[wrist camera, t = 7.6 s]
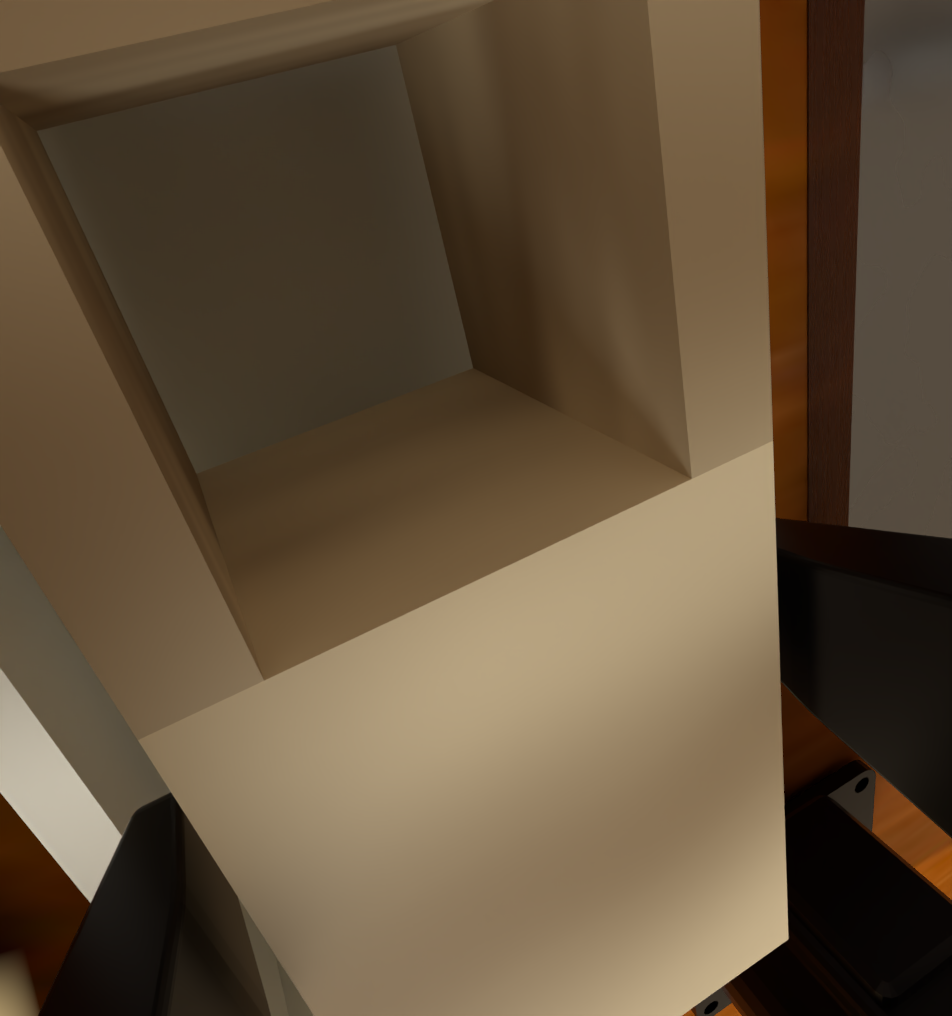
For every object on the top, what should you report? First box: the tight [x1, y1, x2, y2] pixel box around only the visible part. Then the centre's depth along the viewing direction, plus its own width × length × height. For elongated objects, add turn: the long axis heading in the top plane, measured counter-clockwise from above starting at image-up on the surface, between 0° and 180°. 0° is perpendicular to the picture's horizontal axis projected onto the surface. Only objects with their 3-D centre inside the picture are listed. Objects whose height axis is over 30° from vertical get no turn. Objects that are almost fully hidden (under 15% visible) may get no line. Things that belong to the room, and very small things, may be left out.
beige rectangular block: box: [0, 0, 789, 1016], centre depth 7 cm, size 12×5×4 cm, turn 13°
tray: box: [0, 45, 473, 1016], centre depth 9 cm, size 16×9×4 cm, turn 13°
